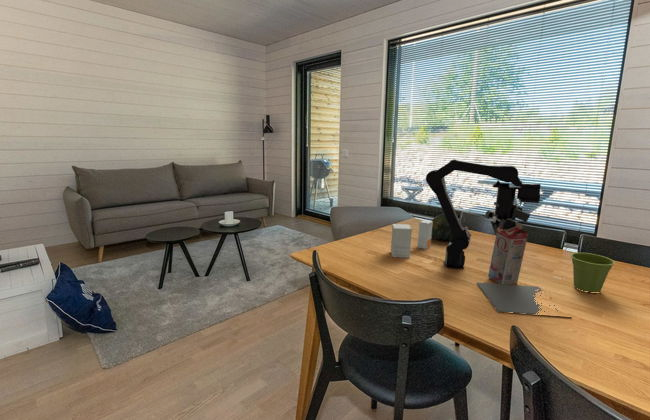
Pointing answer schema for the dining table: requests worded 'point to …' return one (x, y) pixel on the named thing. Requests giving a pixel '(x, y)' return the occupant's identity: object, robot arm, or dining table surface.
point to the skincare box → (424, 234)
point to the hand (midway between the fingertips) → (499, 242)
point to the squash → (441, 228)
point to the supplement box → (401, 240)
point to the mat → (512, 297)
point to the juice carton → (508, 254)
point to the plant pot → (590, 271)
